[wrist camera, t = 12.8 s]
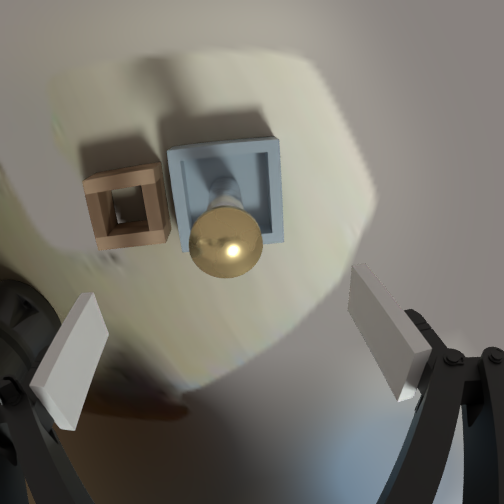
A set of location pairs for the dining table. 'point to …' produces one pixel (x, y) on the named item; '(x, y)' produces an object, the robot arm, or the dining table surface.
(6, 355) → the robot arm
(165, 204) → the block
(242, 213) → the pin
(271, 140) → the tray
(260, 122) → the dining table surface
